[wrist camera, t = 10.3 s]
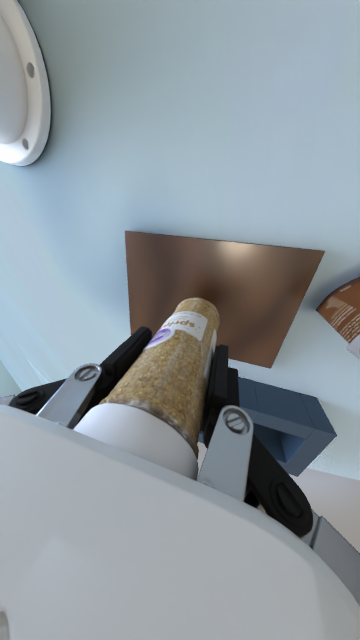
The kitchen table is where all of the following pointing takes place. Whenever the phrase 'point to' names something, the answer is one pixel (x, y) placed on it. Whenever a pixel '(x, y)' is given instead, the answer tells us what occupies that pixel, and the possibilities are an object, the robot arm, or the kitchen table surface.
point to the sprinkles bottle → (162, 393)
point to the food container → (344, 313)
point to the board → (220, 287)
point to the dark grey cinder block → (285, 423)
